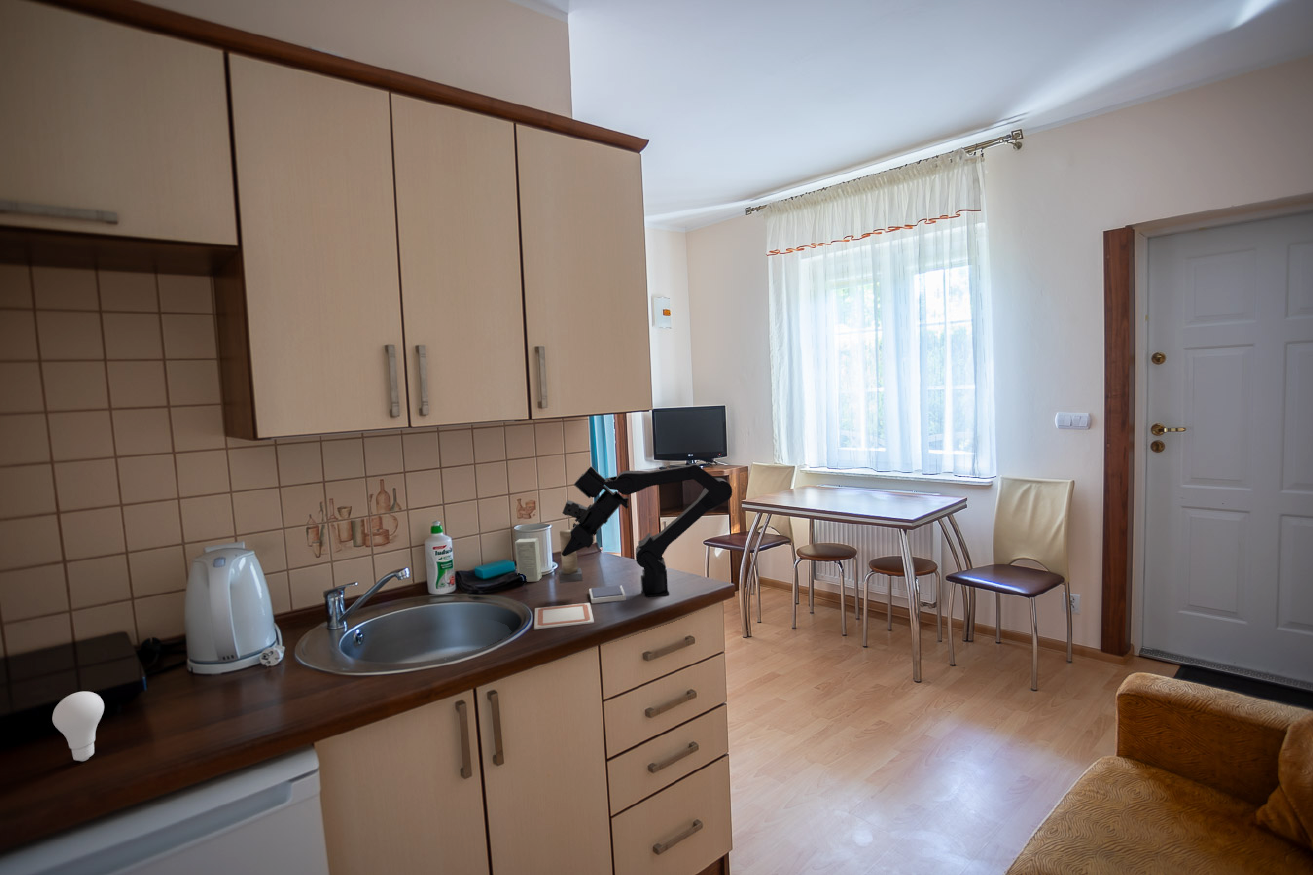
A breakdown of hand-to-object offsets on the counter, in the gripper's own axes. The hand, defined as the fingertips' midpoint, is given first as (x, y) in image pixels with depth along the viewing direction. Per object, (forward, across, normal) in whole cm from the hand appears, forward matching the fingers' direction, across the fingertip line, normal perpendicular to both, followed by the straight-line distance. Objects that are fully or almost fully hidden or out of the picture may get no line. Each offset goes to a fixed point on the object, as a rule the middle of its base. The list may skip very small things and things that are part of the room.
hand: (563, 553), depth 172 cm
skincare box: (+18, -20, 0) cm, 27 cm away
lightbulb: (+58, +67, -42) cm, 98 cm away
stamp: (+4, 0, +6) cm, 7 cm away
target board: (+8, +14, +9) cm, 19 cm away
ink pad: (+1, +1, +16) cm, 17 cm away
